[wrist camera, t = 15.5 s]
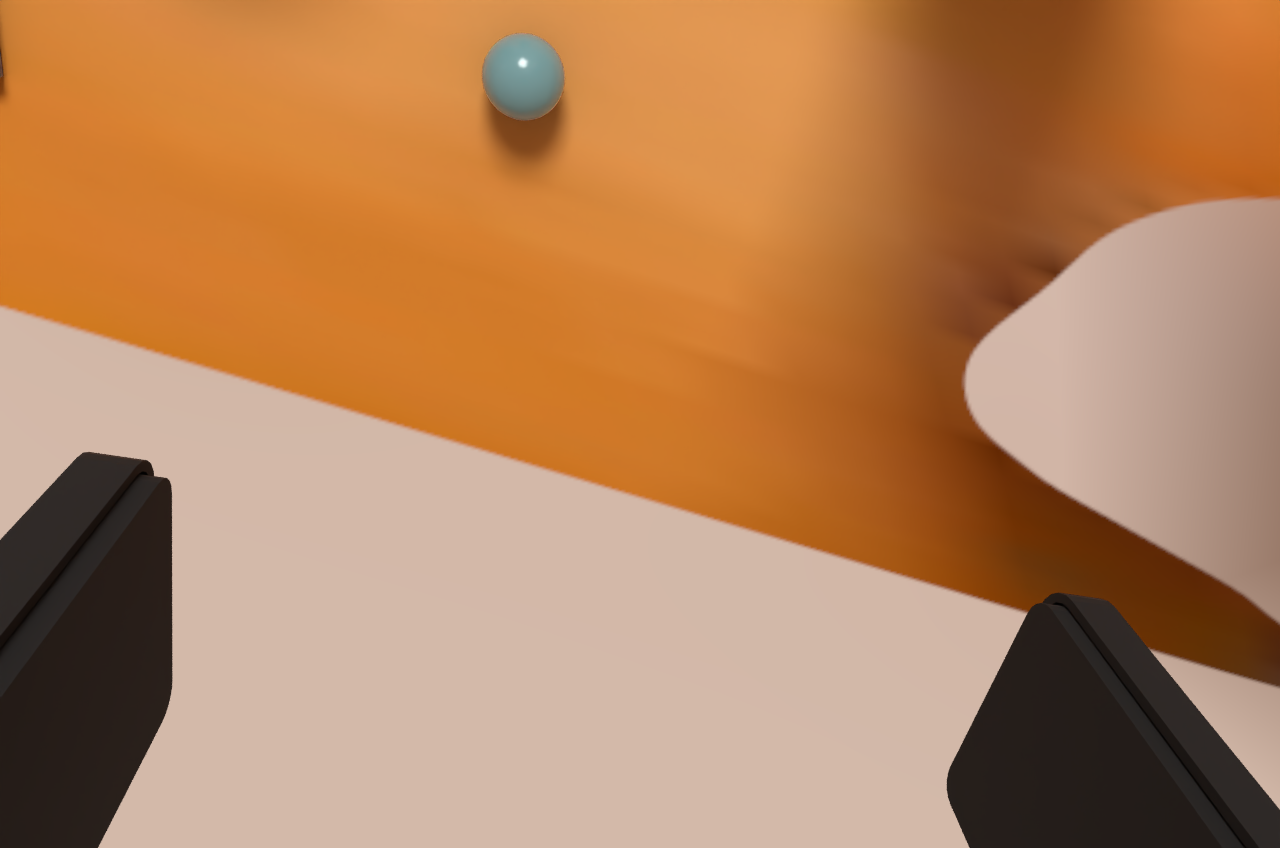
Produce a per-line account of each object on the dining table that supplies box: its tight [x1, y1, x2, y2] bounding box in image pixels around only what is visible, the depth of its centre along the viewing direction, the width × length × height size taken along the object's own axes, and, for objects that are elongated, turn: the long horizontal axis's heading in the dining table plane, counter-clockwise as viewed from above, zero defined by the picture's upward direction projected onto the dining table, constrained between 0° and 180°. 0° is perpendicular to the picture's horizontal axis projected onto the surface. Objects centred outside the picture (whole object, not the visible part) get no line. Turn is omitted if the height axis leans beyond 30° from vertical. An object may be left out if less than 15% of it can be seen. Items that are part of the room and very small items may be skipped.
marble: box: [482, 33, 565, 121], centre depth 34 cm, size 3×3×3 cm
